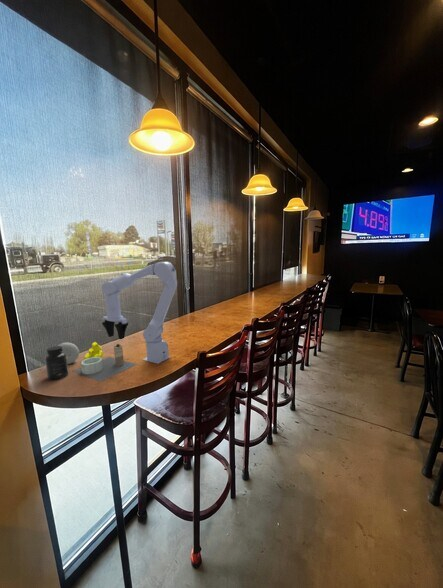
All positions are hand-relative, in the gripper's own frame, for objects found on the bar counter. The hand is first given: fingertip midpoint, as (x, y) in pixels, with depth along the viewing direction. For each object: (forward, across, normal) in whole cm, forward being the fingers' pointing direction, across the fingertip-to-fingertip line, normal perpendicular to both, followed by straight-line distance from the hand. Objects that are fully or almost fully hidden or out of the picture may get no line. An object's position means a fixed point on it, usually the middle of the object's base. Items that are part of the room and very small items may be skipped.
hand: (116, 337), depth 112 cm
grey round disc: (+10, +15, +14) cm, 24 cm away
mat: (+10, -4, +9) cm, 14 cm away
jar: (+10, -2, +13) cm, 17 cm away
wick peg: (+10, -6, +4) cm, 12 cm away
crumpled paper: (+10, +12, +5) cm, 16 cm away
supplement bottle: (+10, +6, +23) cm, 26 cm away
